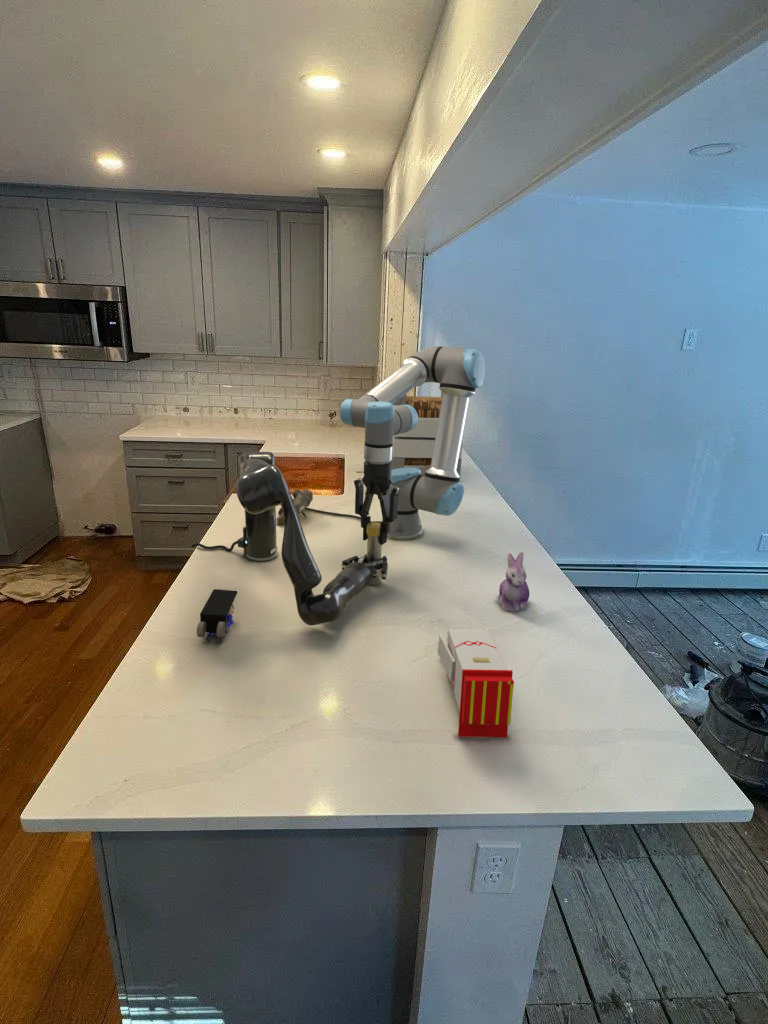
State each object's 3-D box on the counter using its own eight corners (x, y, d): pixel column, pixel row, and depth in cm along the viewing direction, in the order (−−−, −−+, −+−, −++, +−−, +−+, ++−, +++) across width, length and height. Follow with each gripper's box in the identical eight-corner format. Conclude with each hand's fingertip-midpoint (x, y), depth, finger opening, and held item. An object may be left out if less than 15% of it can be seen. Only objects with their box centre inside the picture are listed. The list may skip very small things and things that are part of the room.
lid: (379, 529, 162) (379, 521, 161) (386, 535, 158) (386, 527, 157) (363, 531, 160) (363, 523, 159) (370, 537, 156) (370, 529, 155)
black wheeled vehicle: (226, 651, 131) (240, 612, 144) (223, 625, 127) (238, 587, 141) (197, 650, 130) (213, 611, 144) (193, 624, 127) (210, 586, 140)
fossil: (282, 495, 221) (310, 474, 216) (298, 513, 224) (326, 493, 219) (266, 520, 201) (297, 498, 196) (284, 540, 204) (315, 519, 199)
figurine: (511, 616, 149) (518, 564, 143) (487, 598, 157) (493, 549, 152) (539, 609, 153) (547, 558, 148) (514, 592, 161) (521, 544, 156)
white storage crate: (382, 463, 289) (386, 382, 275) (445, 464, 293) (451, 384, 279) (390, 482, 257) (394, 392, 243) (460, 483, 261) (468, 394, 247)
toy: (488, 613, 130) (523, 677, 101) (484, 667, 133) (517, 744, 104) (435, 612, 130) (455, 676, 101) (432, 666, 133) (451, 743, 103)
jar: (376, 578, 167) (378, 523, 161) (382, 584, 163) (384, 528, 157) (363, 580, 165) (365, 525, 159) (369, 586, 162) (371, 530, 156)
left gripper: (376, 573, 146) (401, 550, 160) (327, 562, 151) (356, 540, 166) (375, 599, 148) (399, 574, 163) (327, 587, 153) (355, 564, 168)
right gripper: (413, 463, 151) (408, 543, 159) (357, 453, 159) (355, 530, 167) (400, 469, 145) (396, 552, 153) (342, 458, 153) (340, 538, 161)
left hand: (377, 557), depth 164 cm, fingers closed on jar, 4 cm apart
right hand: (374, 540), depth 160 cm, fingers closed on lid, 5 cm apart
